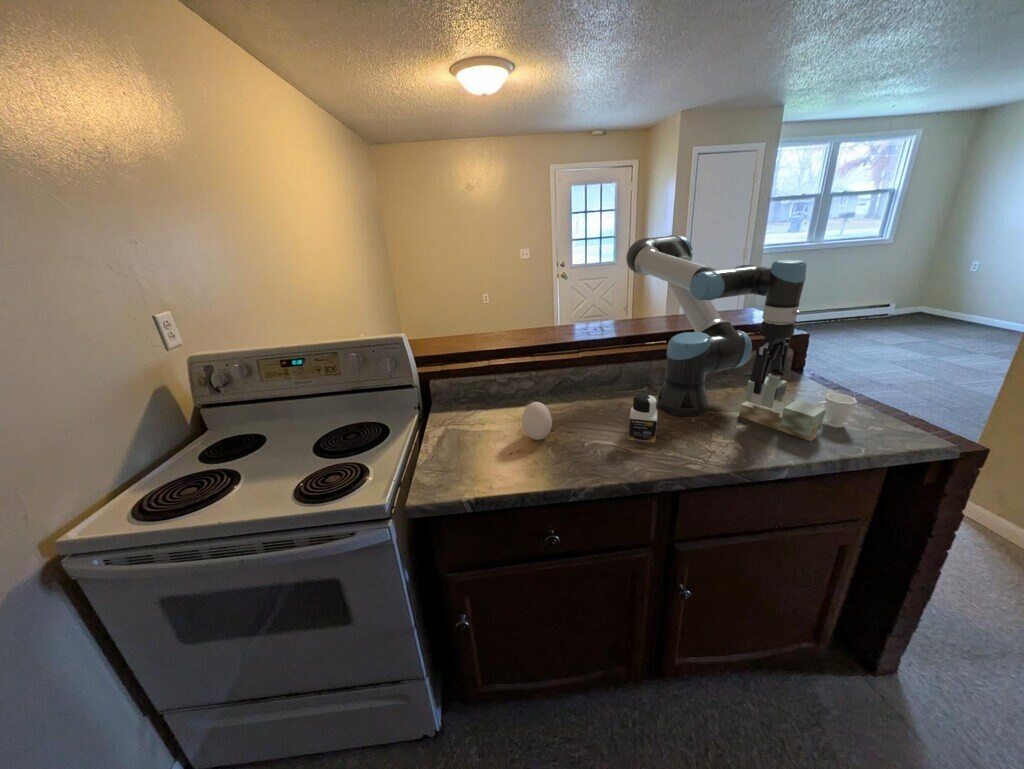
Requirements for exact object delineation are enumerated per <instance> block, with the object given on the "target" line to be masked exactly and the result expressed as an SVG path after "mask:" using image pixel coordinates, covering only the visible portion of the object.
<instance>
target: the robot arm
mask: <svg viewBox="0 0 1024 769" xmlns="http://www.w3.org/2000/svg"><path fill="white" fill-rule="evenodd" d="M692 251H693V246H692V244H691V242H690V240H688V238H687V237H685V236H683V235H675V234H671V235H667V236H658V237H657V236H656V237H655V236H654V237H644V238H640V239H638V240H636V241H635V242H634V243H632V245H631V246H630V247H629V248H628V250H627V252H626V257H625V259H626V263H627V264H626V265H627V266H628V268H629V270H631V271H632V272H634V273H636V274H637V275H641V276H652V277H655V278H657V279H660V280H661V281H664V282H667V284H668V286H669V288H670V290H671V291H672V294H673V295H674V296H675V298H676V300H677V302H678V304H679V305H680V307H681V308H682V310H683V312H684V314H685V316H686V318H687V319H688V322H689V323H690V324H691V326H692V328H693V330H694V331H692V332H689V331H688V332H681V333H677V334H676V335H674V336H672V337H671V338H670V339H669V341H668V343H667V348H666V364H665V374H664V382H663V384H662V387H661V388H660V391H659V392H658V396H657V398H656V407H657V408H659V409H660V410H661V411H662V412H665V413H667V414H670V415H674V416H680V417H695V416H696V417H697V416H702V415H703V414H705V413H706V412H707V411H708V407H709V400H708V396H707V393H706V387H705V383H706V375H707V374H710V373H717V372H722V371H727V370H734V369H735V368H740V367H741V366H743V365H745V364H746V363H747V362H748V361H749V360H750V358H751V356H752V351H753V345H752V344H753V343H752V340H751V337H750V336H749V335H748V334H747V333H746V332H745V331H742V330H740V329H737V330H735V328H734V326H733V325H732V323H731V322H730V321H729V320H723V319H722V317H721V315H720V314H719V312H718V310H717V309H716V307H715V305H714V304H713V302H712V301H713V300H718V299H723V298H730V297H737V296H745V295H756V296H762V297H765V300H764V308H763V311H762V315H761V316H762V317H761V318H762V322H761V325H760V328H759V335H760V336H762V337H764V341H763V343H762V345H761V346H757V347H756V349H755V350H756V352H755V358H754V363H753V367H752V370H751V375H750V379H749V380H750V381H752V382H754V387H753V392H752V398H751V402H750V403H753V404H756V405H759V406H762V402H763V396H764V391H765V386H766V383H764V382H765V379H766V376H767V377H771V378H775V379H779V380H780V379H781V376H784V375H785V374H786V373H785V370H786V369H787V368H786V366H787V360H788V354H789V353H788V352H789V347H790V345H791V341H792V339H791V338H792V337H793V336H794V332H795V331H794V330H795V327H796V323H795V321H797V315H800V311H799V306H800V300H801V296H802V294H803V293H802V292H803V290H804V289H803V288H804V284H805V281H806V278H807V276H806V275H807V274H806V273H807V265H808V264H807V262H805V261H804V260H802V259H801V260H800V259H781V260H780V259H778V260H774V261H773V262H772V263H771V266H769V267H768V266H762V265H761V266H760V265H753V264H739V265H737V266H735V267H733V268H724V269H717V268H712V267H711V266H707V265H703V264H701V263H697V262H693V261H692V259H693V255H694V254H693V252H692ZM769 370H770V371H769ZM769 372H770V373H769Z"/></svg>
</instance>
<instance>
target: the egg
mask: <svg viewBox="0 0 1024 769" xmlns="http://www.w3.org/2000/svg"><path fill="white" fill-rule="evenodd" d="M551 414H552V413H550V410H549V408H548V407H547V406H546V405H545V404H543V403H542V402H539V401H532V402H531V403H529V404H528V405H527V406H526V408H525V409H524V410H523V413H522V416H521V426H522V431H523V432H524V433H525V435H526V436H527V437H529V438H530V439H532V440H537V441H538V440H542V439H544V438H546V437H547V436H548V435H549V434H550V432H551V429H552V427H553V418H552V415H551Z"/></svg>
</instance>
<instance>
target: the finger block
mask: <svg viewBox="0 0 1024 769" xmlns="http://www.w3.org/2000/svg"><path fill="white" fill-rule="evenodd" d="M764 383H766V386H765V391H764V396H763V402H762V405H761V406H762V407H766V408H769V409H772V408H773V406H774V402H775V401H777V402H780V403H782V402H783V401H784V398H785V393H786V390H787V389H786V388H787V384H788V381H786V380H783V379H780V378H779V379H775V378H771V377H768V375H767V376H766V379H765V382H764ZM753 387H754V382H752V381H750V379H749V380H748V381H747V385H746V391H745V397H744V401H745V402H746V401H747V402H750V403H751V398H752V392H753Z"/></svg>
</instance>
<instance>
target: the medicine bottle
mask: <svg viewBox="0 0 1024 769" xmlns="http://www.w3.org/2000/svg"><path fill="white" fill-rule="evenodd" d="M632 401H633V402H632V406H631V409H630V413H629V423H628V440H631V441H639V442H647V443H655V442H656V438H657V437H656V436H657V425H658V411H659V410H658V408H657V398H656V397H654V396H653V395H651V394H646V393H643V394H638V395H635V396H634V397H633V400H632Z"/></svg>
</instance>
